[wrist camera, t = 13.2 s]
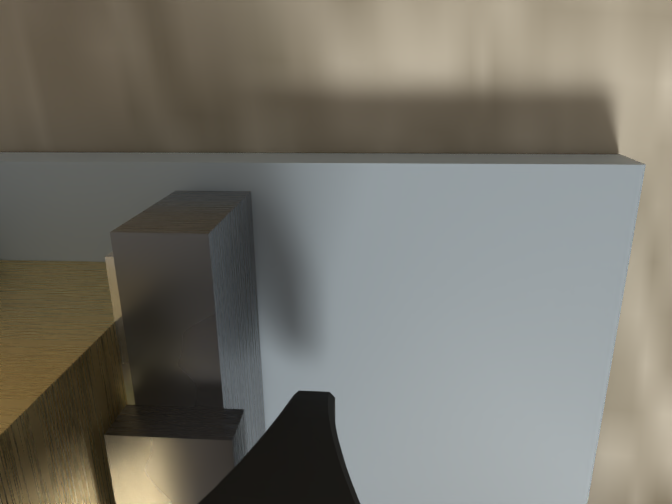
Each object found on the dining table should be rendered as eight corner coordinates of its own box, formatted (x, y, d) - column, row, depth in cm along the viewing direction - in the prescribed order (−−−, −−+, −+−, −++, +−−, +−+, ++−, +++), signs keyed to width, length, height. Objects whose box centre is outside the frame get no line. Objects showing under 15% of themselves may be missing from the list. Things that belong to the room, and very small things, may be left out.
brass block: (43, 484, 14) (-183, 770, 8) (-6, 259, 12) (-346, 435, 6) (199, 491, 14) (72, 794, 8) (174, 262, 12) (-17, 451, 6)
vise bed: (19, 504, 16) (-100, 650, 12) (-66, 151, 13) (-269, 193, 9) (560, 534, 15) (625, 707, 11) (620, 154, 12) (743, 203, 8)
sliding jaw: (200, 545, 14) (142, 702, 11) (160, 190, 11) (61, 249, 8) (286, 550, 14) (254, 710, 10) (268, 191, 11) (217, 252, 7)
